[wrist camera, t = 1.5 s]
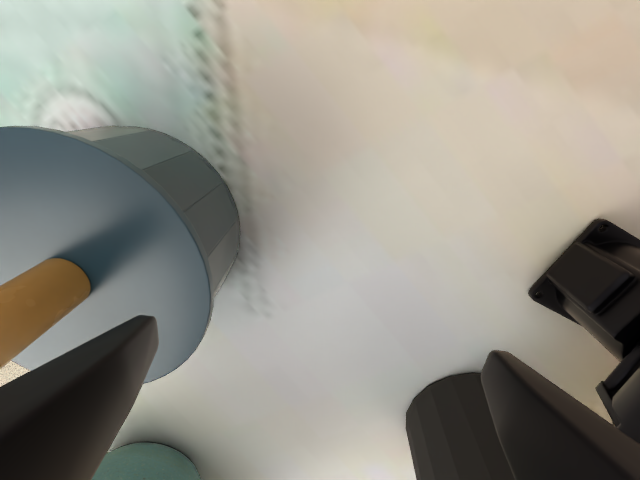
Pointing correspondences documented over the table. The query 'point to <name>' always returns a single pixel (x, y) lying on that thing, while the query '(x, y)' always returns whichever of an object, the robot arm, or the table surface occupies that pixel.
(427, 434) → the vase
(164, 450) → the teal bowl
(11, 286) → the lid
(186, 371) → the table surface
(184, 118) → the table surface
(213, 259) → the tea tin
